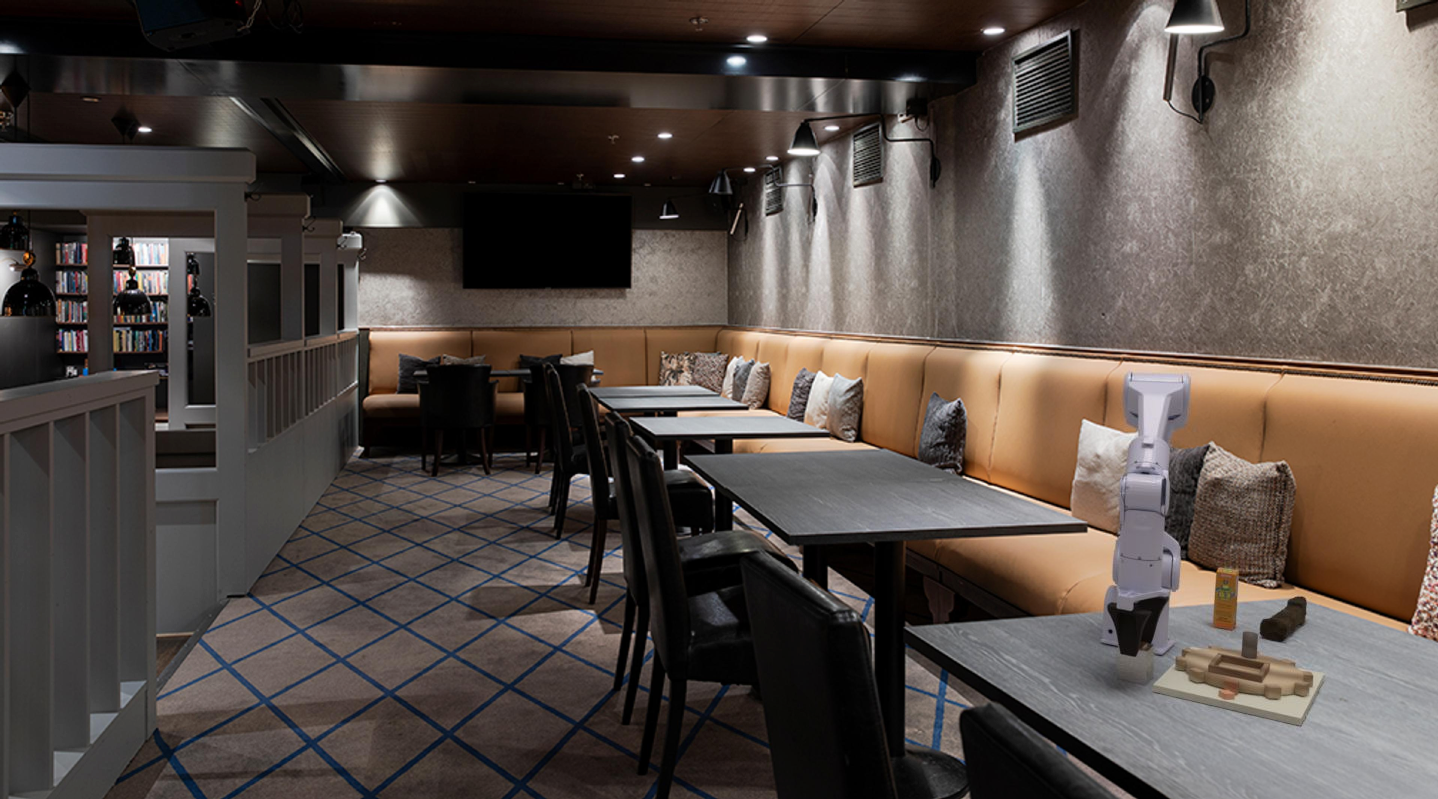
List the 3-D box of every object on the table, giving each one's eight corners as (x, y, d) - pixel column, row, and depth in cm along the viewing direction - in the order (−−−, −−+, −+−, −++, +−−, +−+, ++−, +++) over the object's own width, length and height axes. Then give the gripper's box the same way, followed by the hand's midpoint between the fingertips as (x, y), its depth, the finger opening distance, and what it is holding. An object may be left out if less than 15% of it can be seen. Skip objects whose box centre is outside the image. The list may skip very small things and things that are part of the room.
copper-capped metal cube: (1116, 679, 141) (1118, 643, 141) (1124, 671, 144) (1126, 636, 144) (1145, 685, 139) (1147, 649, 138) (1153, 678, 142) (1154, 642, 141)
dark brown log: (1285, 645, 159) (1286, 617, 159) (1258, 639, 162) (1260, 612, 161) (1320, 623, 172) (1321, 597, 172) (1294, 618, 175) (1296, 593, 174)
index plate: (1152, 691, 136) (1153, 679, 136) (1190, 652, 153) (1191, 641, 153) (1300, 726, 125) (1301, 712, 125) (1324, 679, 142) (1325, 667, 142)
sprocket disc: (1191, 648, 152) (1193, 616, 152) (1318, 673, 142) (1320, 639, 141) (1163, 678, 138) (1165, 643, 138) (1302, 708, 128) (1304, 671, 127)
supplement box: (1211, 627, 167) (1214, 570, 166) (1215, 622, 170) (1218, 566, 169) (1233, 631, 165) (1236, 573, 164) (1236, 626, 168) (1239, 569, 167)
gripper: (1156, 569, 132) (1151, 667, 133) (1183, 552, 143) (1178, 642, 144) (1103, 561, 136) (1098, 656, 137) (1133, 545, 148) (1128, 632, 149)
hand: (1136, 648), depth 141 cm, fingers open, 7 cm apart
